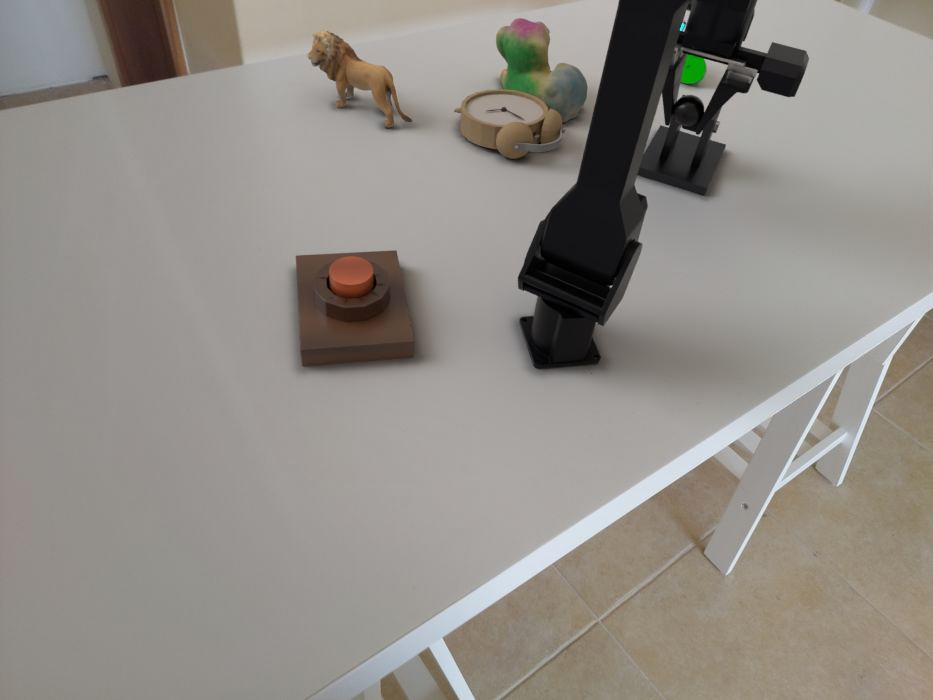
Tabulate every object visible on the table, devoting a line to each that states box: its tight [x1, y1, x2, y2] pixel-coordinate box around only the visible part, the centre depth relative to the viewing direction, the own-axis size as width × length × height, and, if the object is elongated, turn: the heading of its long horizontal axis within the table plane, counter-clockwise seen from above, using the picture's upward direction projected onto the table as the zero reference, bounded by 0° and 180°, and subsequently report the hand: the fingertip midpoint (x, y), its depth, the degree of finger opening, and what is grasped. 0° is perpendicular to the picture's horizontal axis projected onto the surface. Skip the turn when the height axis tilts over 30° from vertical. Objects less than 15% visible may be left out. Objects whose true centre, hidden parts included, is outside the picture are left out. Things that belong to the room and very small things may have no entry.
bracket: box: [637, 94, 727, 197], centre depth 92 cm, size 12×9×8 cm
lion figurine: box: [306, 30, 413, 129], centre depth 94 cm, size 15×5×9 cm, turn 66°
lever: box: [673, 94, 705, 133], centre depth 84 cm, size 17×3×3 cm, turn 155°
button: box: [329, 256, 374, 299], centre depth 67 cm, size 4×4×2 cm
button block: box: [295, 249, 415, 367], centre depth 69 cm, size 13×10×4 cm
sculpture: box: [495, 17, 588, 123], centre depth 100 cm, size 15×8×10 cm, turn 46°
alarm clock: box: [453, 88, 566, 160], centre depth 94 cm, size 11×5×15 cm
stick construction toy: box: [680, 19, 707, 85], centre depth 113 cm, size 12×7×8 cm
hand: (683, 128), depth 80 cm, fingers closed on lever, 3 cm apart
